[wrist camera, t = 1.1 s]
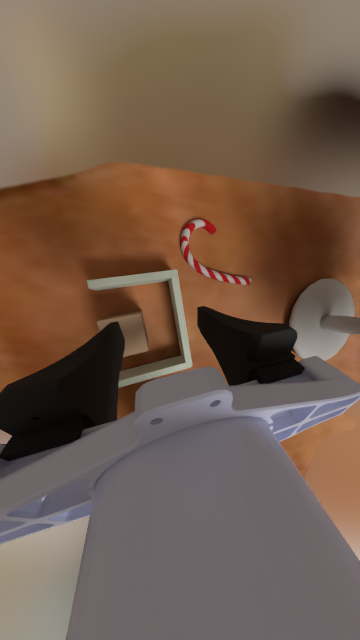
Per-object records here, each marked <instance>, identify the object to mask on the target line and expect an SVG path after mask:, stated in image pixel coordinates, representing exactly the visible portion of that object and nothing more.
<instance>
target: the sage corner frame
mask: <svg viewBox="0 0 360 640" xmlns="http://www.w3.org/2000/svg"><path fill="white" fill-rule="evenodd" d="M164 281H168V282H169V288H170V294H171V300H172V306H173V311H174V317H175V323H176V329H177V334H178V340H179V346H180V352H181V355H180V356H176V357H172V358H169V359H165V360H161V361H157V362H153V363H150V364H146V365H142V366H138V367H134V368H130V369H127V370H123V371H120V375H119V384H118V388H120V387H123V386H127V385H130V384H134V383H137V382H141V381H144V380H148V379H151V378H155V377H158V376H162V375H165V374H169V373H172V372H176V371H179V370H183V369H186V368H190V367H193V366H192V360H191V354H190V347H189V341H188V335H187V328H186V322H185V316H184V310H183V303H182V297H181V291H180V285H179V278H178V272H177V269H176V270H168V271H160V272H152V273H143V274H135V275H127V276H119V277H111V278H103V279H94V280H87V283H88V287H89V289H93V290H97V291H99V290H106V289H113V288H121V287H128V286H135V285H142V284H149V283H157V282H164Z"/></svg>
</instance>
